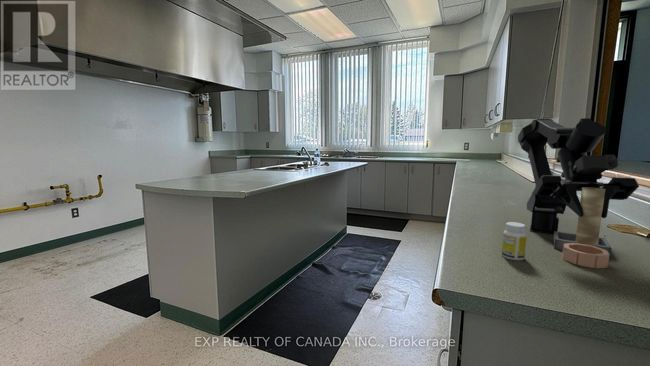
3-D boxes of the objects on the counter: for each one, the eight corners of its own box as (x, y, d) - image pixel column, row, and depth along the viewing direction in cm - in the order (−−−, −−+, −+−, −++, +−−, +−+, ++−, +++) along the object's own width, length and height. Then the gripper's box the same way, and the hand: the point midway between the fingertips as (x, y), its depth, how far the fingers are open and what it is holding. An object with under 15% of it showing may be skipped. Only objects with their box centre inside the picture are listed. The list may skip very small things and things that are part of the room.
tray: (554, 248, 79) (555, 239, 79) (553, 239, 86) (554, 230, 86) (610, 257, 73) (611, 247, 72) (604, 247, 80) (605, 238, 80)
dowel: (576, 243, 70) (582, 188, 68) (574, 238, 73) (581, 186, 71) (599, 246, 67) (606, 190, 65) (596, 241, 71) (603, 188, 69)
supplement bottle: (521, 254, 75) (524, 222, 74) (527, 261, 70) (530, 227, 69) (499, 252, 76) (502, 220, 75) (504, 259, 72) (507, 225, 71)
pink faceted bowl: (563, 262, 70) (564, 250, 70) (561, 252, 76) (563, 241, 76) (609, 271, 65) (611, 258, 65) (603, 259, 72) (605, 247, 71)
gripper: (543, 143, 73) (558, 194, 65) (639, 143, 68) (670, 199, 59) (529, 171, 82) (540, 220, 73) (614, 173, 76) (637, 226, 67)
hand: (593, 216), depth 68 cm, fingers closed on dowel, 4 cm apart
